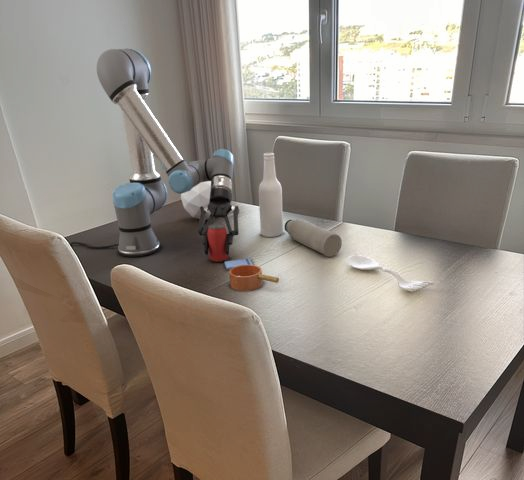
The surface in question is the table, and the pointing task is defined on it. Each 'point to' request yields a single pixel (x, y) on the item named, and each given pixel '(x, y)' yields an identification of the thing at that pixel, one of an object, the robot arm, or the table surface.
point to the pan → (245, 277)
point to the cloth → (237, 263)
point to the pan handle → (268, 278)
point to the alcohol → (270, 200)
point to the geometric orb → (197, 199)
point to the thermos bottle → (314, 237)
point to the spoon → (370, 264)
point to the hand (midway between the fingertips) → (216, 252)
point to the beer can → (217, 242)
